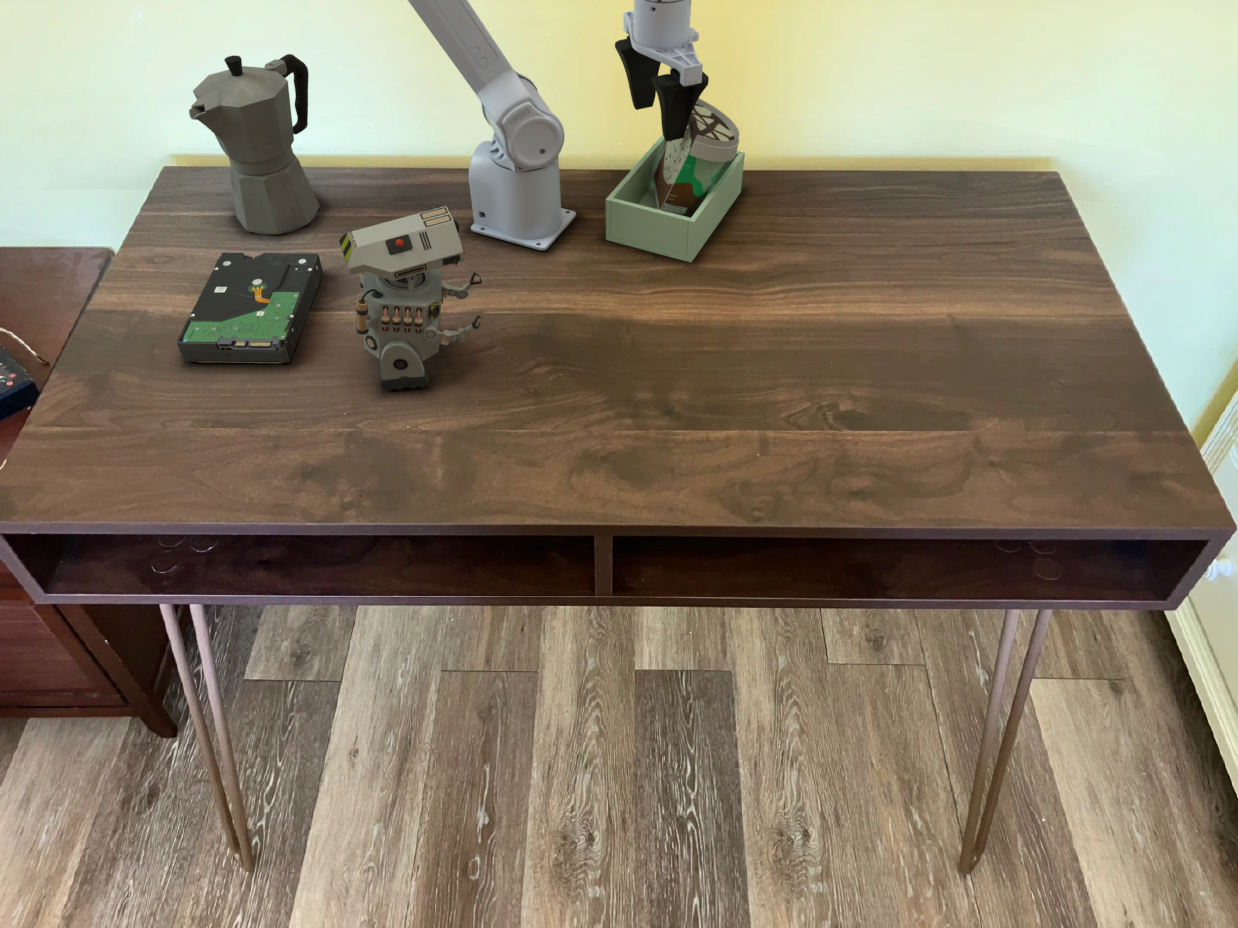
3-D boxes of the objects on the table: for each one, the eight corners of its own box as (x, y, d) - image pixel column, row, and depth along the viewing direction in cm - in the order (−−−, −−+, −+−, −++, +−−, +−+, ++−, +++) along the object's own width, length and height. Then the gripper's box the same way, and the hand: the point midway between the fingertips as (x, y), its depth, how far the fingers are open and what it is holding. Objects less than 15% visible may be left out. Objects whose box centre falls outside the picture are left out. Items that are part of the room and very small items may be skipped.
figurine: (490, 383, 88) (472, 247, 77) (365, 394, 86) (329, 257, 75) (487, 323, 94) (470, 188, 83) (370, 332, 93) (337, 197, 82)
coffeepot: (265, 254, 101) (213, 93, 88) (205, 229, 105) (146, 70, 92) (362, 190, 110) (328, 35, 97) (304, 168, 114) (263, 16, 101)
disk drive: (227, 274, 99) (183, 365, 89) (219, 251, 97) (173, 342, 87) (325, 274, 99) (292, 364, 89) (319, 251, 97) (285, 341, 87)
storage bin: (605, 239, 104) (605, 199, 100) (661, 172, 113) (663, 133, 110) (691, 262, 101) (694, 221, 97) (740, 192, 110) (745, 152, 107)
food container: (710, 239, 102) (752, 157, 96) (659, 221, 101) (698, 136, 95) (698, 188, 112) (736, 110, 105) (651, 171, 110) (686, 90, 104)
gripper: (734, 12, 89) (722, 145, 99) (666, -40, 98) (662, 87, 108) (667, 24, 87) (662, 159, 97) (605, -30, 96) (606, 98, 106)
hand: (658, 122), depth 102 cm, fingers open, 7 cm apart
